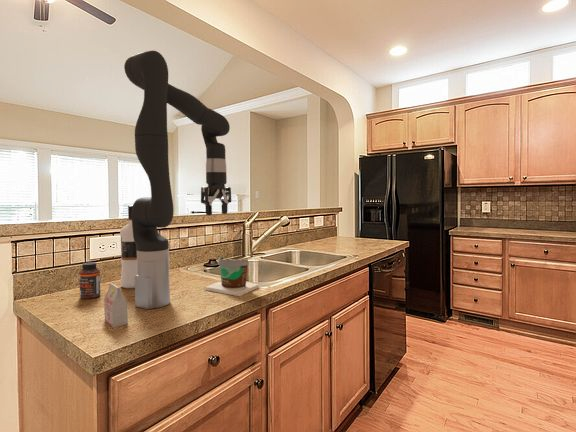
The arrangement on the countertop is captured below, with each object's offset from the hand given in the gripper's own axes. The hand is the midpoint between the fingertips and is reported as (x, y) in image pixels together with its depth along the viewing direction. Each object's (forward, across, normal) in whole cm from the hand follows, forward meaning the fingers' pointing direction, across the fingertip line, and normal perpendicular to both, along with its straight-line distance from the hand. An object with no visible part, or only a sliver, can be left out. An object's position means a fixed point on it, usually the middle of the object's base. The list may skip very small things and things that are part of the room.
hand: (217, 214), depth 128 cm
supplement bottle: (+26, -34, +25) cm, 50 cm away
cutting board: (+26, -3, -10) cm, 28 cm away
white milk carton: (+26, -44, -3) cm, 51 cm away
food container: (+25, -5, -10) cm, 28 cm away
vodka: (+26, -18, +25) cm, 41 cm away
